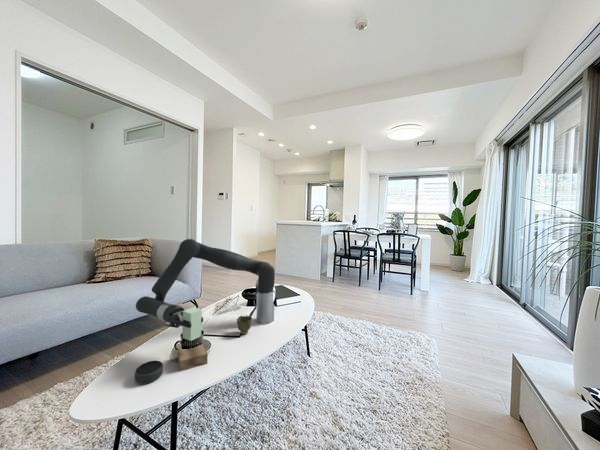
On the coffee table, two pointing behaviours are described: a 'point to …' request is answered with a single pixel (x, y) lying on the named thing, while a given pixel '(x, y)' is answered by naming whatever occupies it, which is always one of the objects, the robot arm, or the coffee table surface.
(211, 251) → the robot arm
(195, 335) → the green block
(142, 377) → the smart speaker
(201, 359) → the walnut plinth
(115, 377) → the coffee table surface
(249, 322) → the cup
